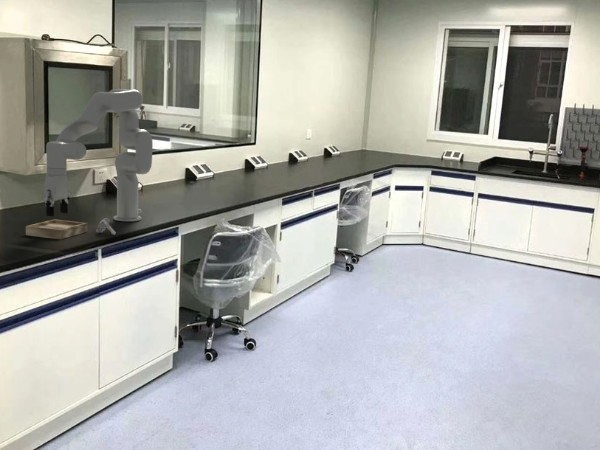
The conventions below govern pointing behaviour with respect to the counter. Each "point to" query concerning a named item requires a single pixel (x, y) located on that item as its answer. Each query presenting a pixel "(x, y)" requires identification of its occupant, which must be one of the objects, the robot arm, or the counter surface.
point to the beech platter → (56, 229)
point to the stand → (105, 226)
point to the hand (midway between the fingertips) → (57, 214)
